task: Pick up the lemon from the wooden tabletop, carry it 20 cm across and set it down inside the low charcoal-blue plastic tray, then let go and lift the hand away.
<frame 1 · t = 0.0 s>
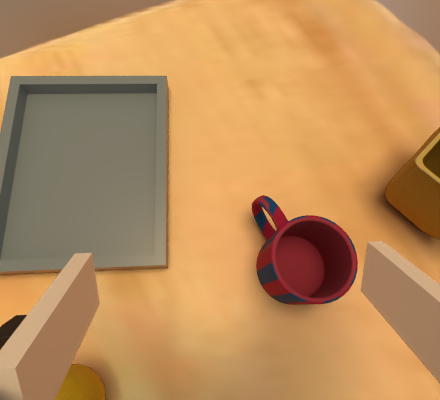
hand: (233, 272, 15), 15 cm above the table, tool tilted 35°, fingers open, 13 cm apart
tray: (89, 171, 33), on the table
lemon: (83, 393, 27), on the table
mug: (281, 253, 31), on the table
flower pot: (415, 200, 34), on the table
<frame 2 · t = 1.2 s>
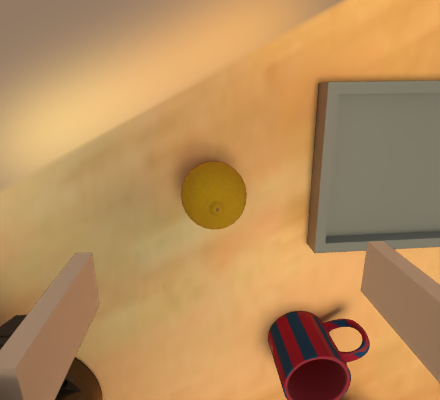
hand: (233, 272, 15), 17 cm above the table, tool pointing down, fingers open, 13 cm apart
tray: (409, 166, 32), on the table
lemon: (211, 182, 31), on the table
mug: (308, 327, 38), on the table
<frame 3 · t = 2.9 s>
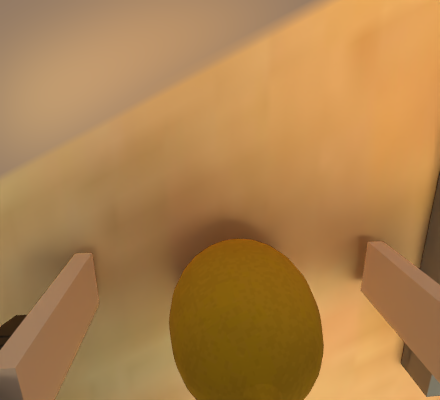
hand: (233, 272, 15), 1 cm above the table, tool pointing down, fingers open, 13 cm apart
lemon: (231, 262, 16), on the table
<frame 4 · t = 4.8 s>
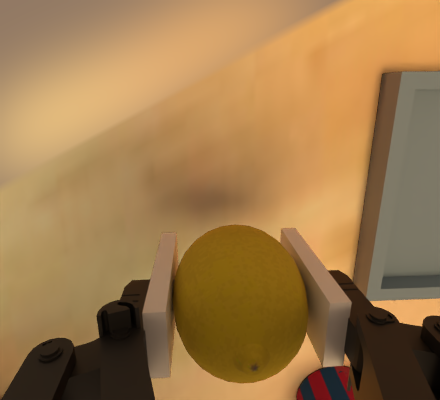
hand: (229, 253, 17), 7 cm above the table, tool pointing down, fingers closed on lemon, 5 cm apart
lemon: (228, 249, 18), point 6 cm above the table, touching gripper
mug: (347, 384, 30), on the table
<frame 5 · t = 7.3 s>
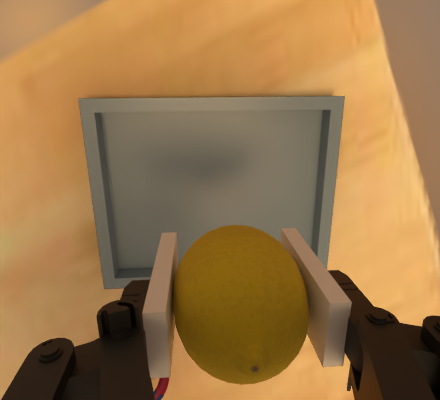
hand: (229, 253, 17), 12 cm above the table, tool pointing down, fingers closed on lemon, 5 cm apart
tray: (215, 191, 29), on the table
lemon: (229, 249, 18), point 12 cm above the table, touching gripper
when the fingers open (1 cm above the table, at t = 9.8 s): lemon stays where it is, resting on tray.
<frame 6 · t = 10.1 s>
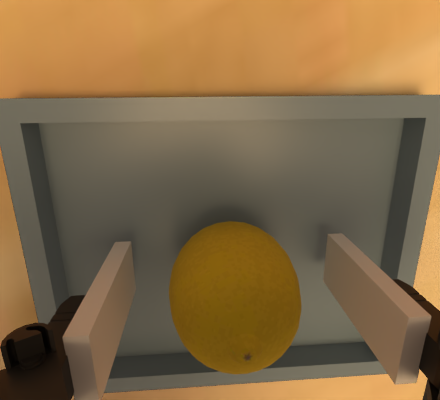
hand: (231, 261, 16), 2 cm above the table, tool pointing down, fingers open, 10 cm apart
tray: (227, 243, 18), on the table
lemon: (225, 246, 18), resting on tray
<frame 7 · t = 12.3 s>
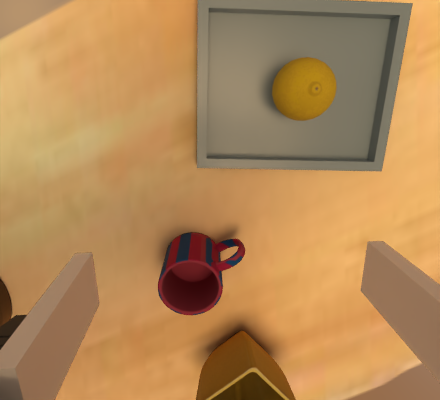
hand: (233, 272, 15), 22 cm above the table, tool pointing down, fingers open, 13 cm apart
tray: (292, 91, 34), on the table
lemon: (291, 90, 34), resting on tray
mug: (205, 251, 40), on the table
flower pot: (240, 349, 45), on the table
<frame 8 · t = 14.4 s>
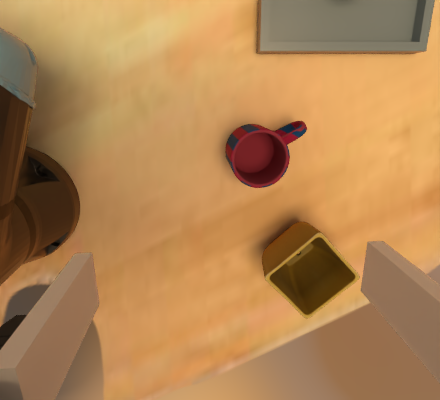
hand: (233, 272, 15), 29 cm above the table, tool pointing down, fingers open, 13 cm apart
mug: (261, 144, 43), on the table
flower pot: (291, 245, 48), on the table
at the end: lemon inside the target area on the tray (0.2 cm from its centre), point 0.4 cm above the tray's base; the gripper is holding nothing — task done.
